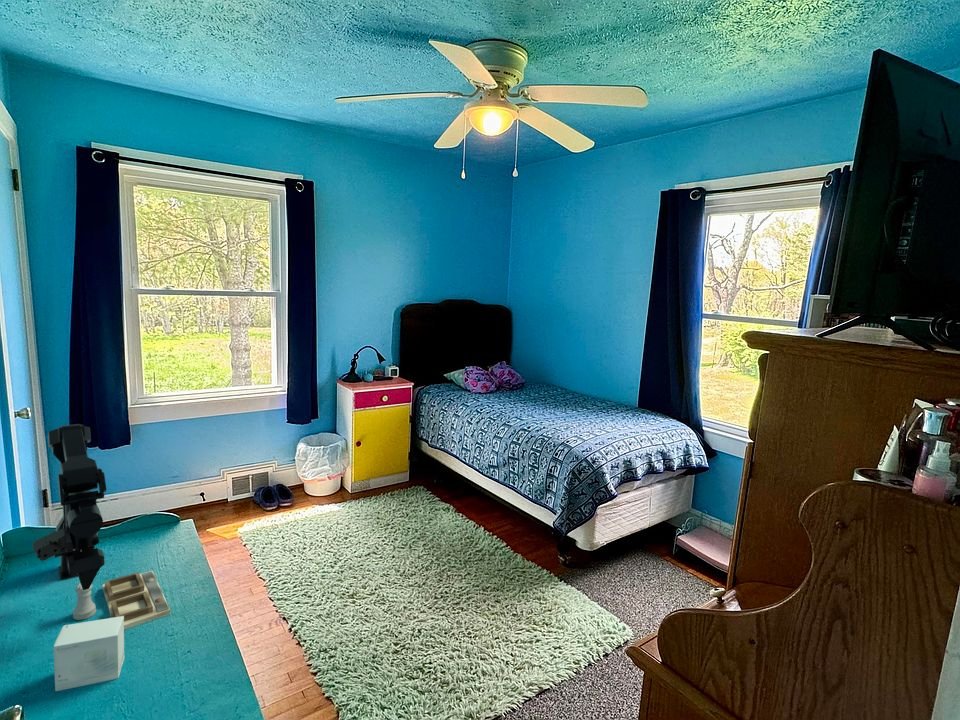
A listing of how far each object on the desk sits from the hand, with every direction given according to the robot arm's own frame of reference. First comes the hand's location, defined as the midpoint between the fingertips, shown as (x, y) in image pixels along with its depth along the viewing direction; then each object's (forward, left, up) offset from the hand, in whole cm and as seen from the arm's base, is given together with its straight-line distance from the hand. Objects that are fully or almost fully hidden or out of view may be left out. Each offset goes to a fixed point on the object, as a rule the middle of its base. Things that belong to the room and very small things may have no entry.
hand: (83, 579), depth 118 cm
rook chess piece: (0, 0, -10) cm, 10 cm away
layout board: (+1, +10, -9) cm, 14 cm away
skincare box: (+22, -1, -10) cm, 24 cm away
